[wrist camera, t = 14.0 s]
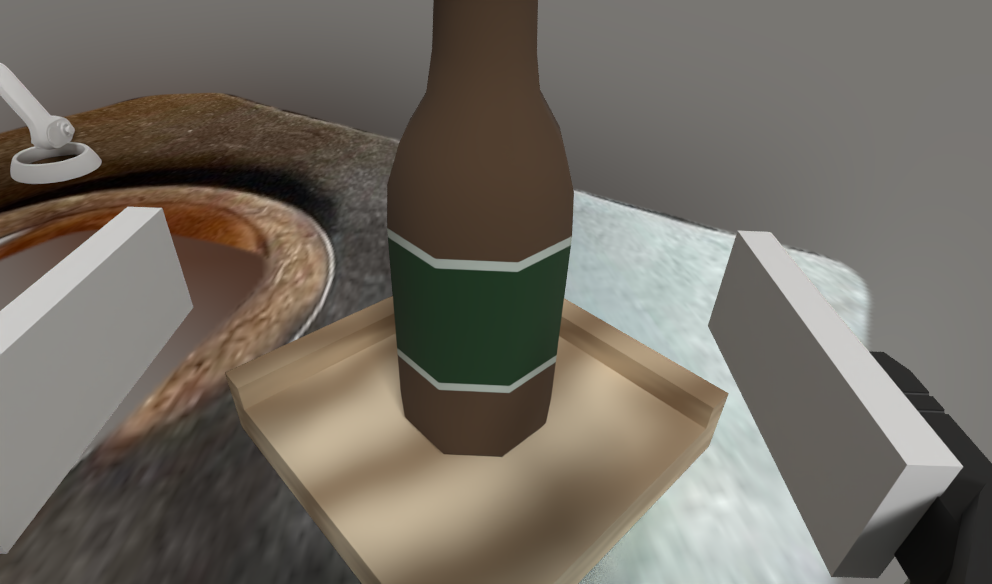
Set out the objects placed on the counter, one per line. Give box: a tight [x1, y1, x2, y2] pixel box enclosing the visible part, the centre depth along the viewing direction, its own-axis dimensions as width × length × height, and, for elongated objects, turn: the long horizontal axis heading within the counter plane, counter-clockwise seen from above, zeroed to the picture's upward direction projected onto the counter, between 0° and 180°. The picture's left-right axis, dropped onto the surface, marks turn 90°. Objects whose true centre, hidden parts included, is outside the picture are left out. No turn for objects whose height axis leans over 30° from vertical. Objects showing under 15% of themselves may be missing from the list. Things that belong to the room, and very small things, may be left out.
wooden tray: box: [225, 296, 728, 584], centre depth 30 cm, size 18×18×4 cm
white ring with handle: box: [0, 63, 102, 184], centre depth 56 cm, size 8×12×7 cm
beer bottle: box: [387, 0, 574, 457], centre depth 23 cm, size 8×8×24 cm
